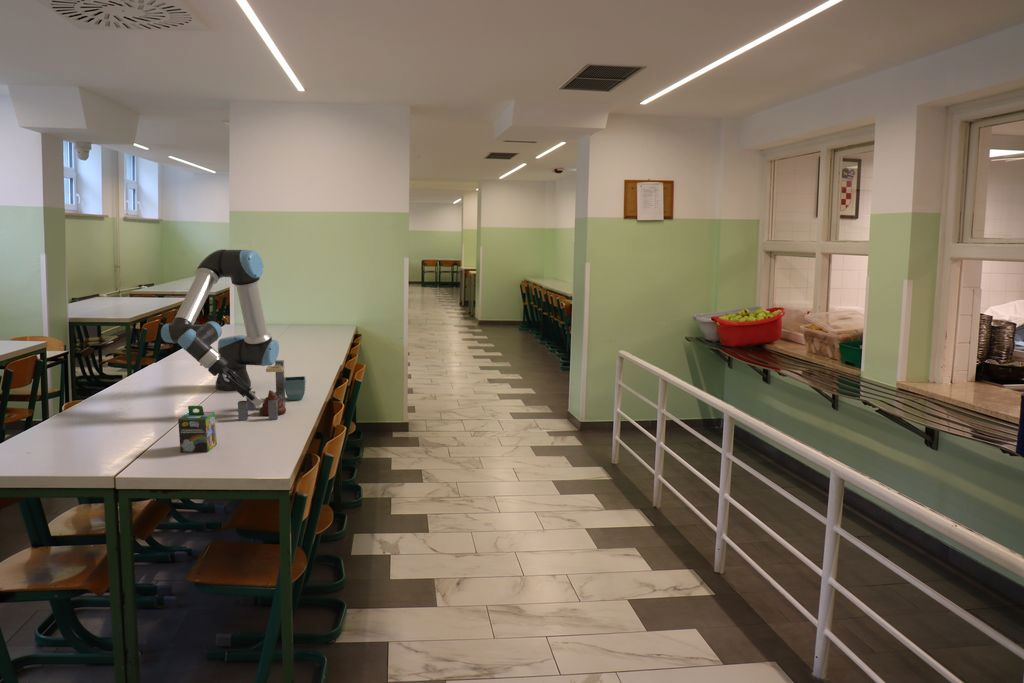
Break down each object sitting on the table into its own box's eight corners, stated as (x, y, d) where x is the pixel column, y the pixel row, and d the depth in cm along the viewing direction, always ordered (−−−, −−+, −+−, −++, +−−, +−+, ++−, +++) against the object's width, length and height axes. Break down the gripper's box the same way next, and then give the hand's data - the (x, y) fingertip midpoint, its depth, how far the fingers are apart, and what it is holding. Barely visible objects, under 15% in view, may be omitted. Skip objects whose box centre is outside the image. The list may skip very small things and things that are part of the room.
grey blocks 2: (268, 420, 304) (268, 401, 303) (276, 408, 324) (276, 391, 322) (276, 419, 304) (276, 401, 303) (284, 407, 324) (283, 390, 323)
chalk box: (217, 445, 270) (215, 401, 268) (207, 452, 261) (205, 408, 258) (189, 444, 269) (187, 401, 267) (179, 452, 260) (176, 408, 258)
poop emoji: (258, 416, 309) (257, 393, 307) (260, 411, 317) (259, 388, 316) (285, 415, 311) (284, 392, 310) (286, 410, 319) (285, 387, 318)
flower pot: (284, 402, 334) (283, 380, 333) (284, 397, 343) (283, 377, 342) (306, 401, 337) (305, 380, 336) (305, 396, 345) (305, 376, 344)
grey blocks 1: (238, 420, 302) (237, 402, 301) (248, 408, 322) (247, 391, 321) (246, 420, 303) (246, 402, 302) (256, 408, 322) (255, 391, 321)
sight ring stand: (267, 415, 311) (265, 367, 308) (273, 406, 326) (272, 360, 323) (283, 415, 311) (282, 367, 309) (289, 406, 327) (287, 360, 324)
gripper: (211, 366, 314) (256, 407, 318) (203, 372, 301) (250, 415, 306) (224, 353, 314) (270, 394, 318) (217, 358, 301) (264, 401, 306)
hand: (260, 404), depth 312 cm, fingers closed
